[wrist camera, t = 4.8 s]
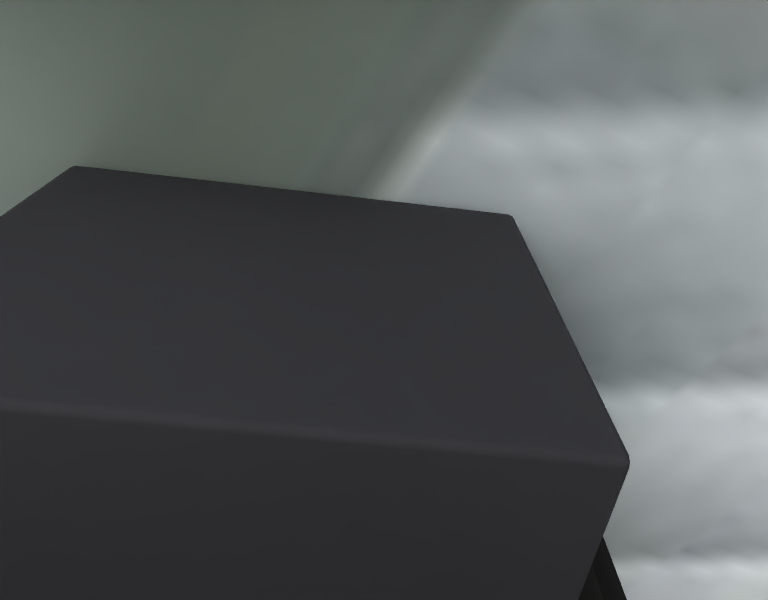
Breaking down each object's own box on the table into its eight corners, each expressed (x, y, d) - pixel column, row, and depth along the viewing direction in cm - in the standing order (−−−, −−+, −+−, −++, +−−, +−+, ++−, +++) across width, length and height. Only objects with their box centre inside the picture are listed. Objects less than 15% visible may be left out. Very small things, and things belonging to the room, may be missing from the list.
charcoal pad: (513, 213, 9) (637, 461, 5) (427, 596, 13) (451, 936, 8) (71, 163, 9) (-244, 380, 4) (115, 573, 12) (-30, 912, 8)
